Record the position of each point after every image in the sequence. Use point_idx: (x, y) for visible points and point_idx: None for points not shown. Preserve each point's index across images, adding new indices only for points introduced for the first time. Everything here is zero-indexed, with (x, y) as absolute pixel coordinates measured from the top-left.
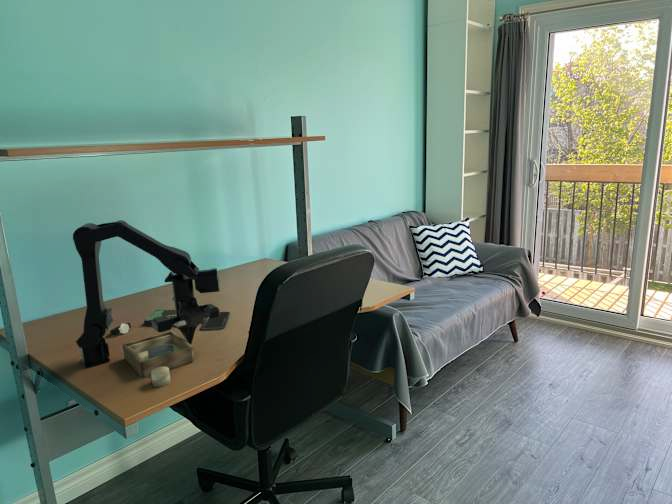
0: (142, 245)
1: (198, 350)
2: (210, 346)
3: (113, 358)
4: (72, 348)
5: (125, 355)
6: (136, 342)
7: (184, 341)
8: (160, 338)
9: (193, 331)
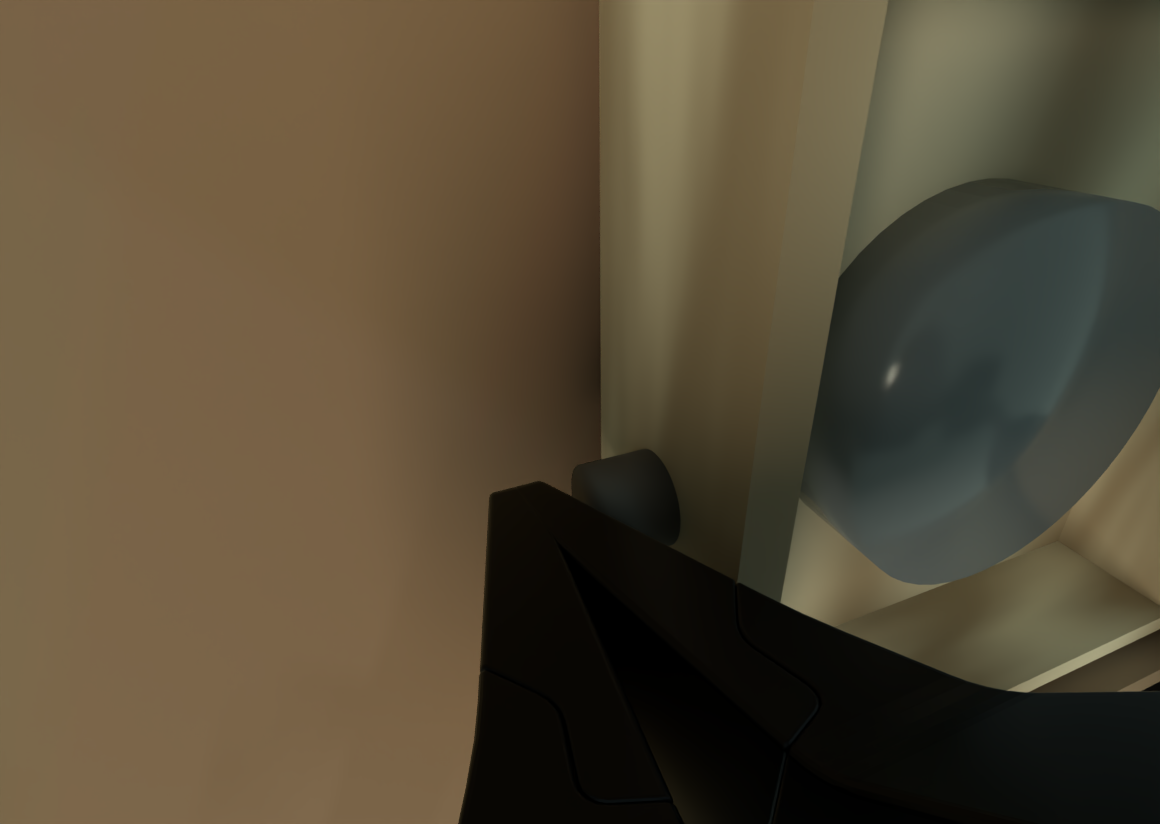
0: None
1: (336, 386)
2: (14, 464)
3: None
4: None
5: None
6: (1105, 676)
7: (801, 389)
8: None
9: (537, 744)
